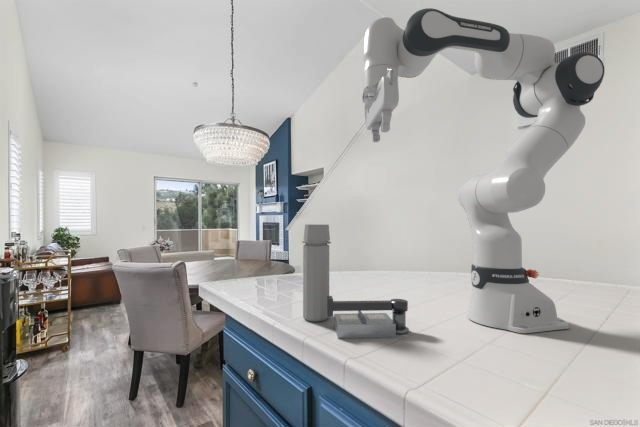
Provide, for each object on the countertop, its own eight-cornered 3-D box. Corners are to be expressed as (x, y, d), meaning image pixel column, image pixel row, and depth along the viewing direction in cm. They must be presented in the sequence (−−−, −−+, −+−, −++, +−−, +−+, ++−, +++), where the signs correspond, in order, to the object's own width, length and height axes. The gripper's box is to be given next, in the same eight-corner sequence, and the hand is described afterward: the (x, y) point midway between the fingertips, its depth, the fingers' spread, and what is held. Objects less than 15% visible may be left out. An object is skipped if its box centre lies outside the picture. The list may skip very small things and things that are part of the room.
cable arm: (404, 311, 73) (404, 294, 73) (410, 316, 69) (410, 298, 69) (326, 312, 72) (326, 295, 72) (328, 317, 68) (328, 299, 68)
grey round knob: (405, 327, 73) (405, 308, 73) (411, 334, 69) (411, 314, 69) (387, 327, 73) (387, 309, 73) (392, 334, 69) (392, 314, 69)
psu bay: (386, 325, 75) (386, 309, 75) (395, 337, 67) (395, 320, 67) (334, 325, 74) (334, 310, 74) (337, 338, 66) (337, 321, 66)
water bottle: (328, 323, 76) (328, 224, 76) (298, 321, 77) (298, 224, 78) (333, 313, 85) (333, 224, 85) (306, 311, 86) (307, 224, 87)
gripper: (405, 63, 68) (405, 124, 68) (382, 100, 89) (382, 146, 88) (378, 63, 68) (378, 123, 68) (361, 99, 88) (361, 146, 88)
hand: (380, 136), depth 78 cm, fingers open, 8 cm apart
